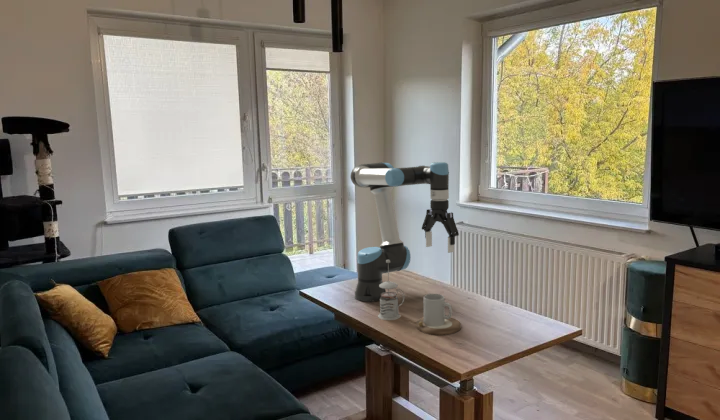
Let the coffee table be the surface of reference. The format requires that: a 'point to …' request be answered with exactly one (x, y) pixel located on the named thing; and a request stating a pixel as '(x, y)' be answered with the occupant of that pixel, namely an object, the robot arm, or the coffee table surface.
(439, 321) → the mug
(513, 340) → the coffee table surface
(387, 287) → the french press
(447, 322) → the ring
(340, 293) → the coffee table surface
